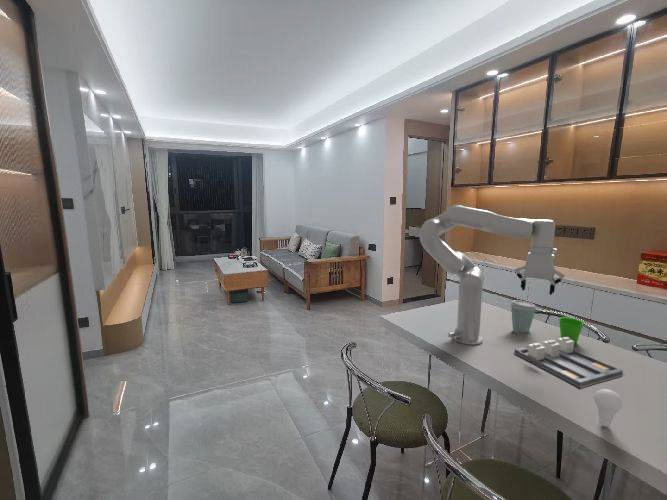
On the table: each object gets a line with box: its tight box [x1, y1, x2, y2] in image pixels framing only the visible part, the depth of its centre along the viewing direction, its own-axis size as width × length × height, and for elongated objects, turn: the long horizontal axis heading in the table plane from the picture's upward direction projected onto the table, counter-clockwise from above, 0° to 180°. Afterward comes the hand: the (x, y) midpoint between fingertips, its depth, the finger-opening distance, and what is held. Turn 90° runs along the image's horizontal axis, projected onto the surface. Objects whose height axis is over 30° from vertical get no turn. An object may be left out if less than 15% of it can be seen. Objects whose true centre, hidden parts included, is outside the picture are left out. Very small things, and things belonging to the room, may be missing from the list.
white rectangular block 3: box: [556, 337, 575, 354], centre depth 136 cm, size 4×4×6 cm
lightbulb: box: [593, 388, 624, 428], centre depth 94 cm, size 6×6×11 cm
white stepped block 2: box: [542, 339, 560, 357], centre depth 133 cm, size 4×4×6 cm
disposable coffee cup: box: [510, 300, 537, 335], centre depth 158 cm, size 11×11×15 cm
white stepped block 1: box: [527, 342, 545, 360], centre depth 131 cm, size 4×4×6 cm
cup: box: [558, 316, 585, 345], centre depth 145 cm, size 9×9×11 cm
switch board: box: [513, 343, 624, 390], centre depth 128 cm, size 22×26×2 cm
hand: (536, 291), depth 137 cm, fingers open, 9 cm apart
